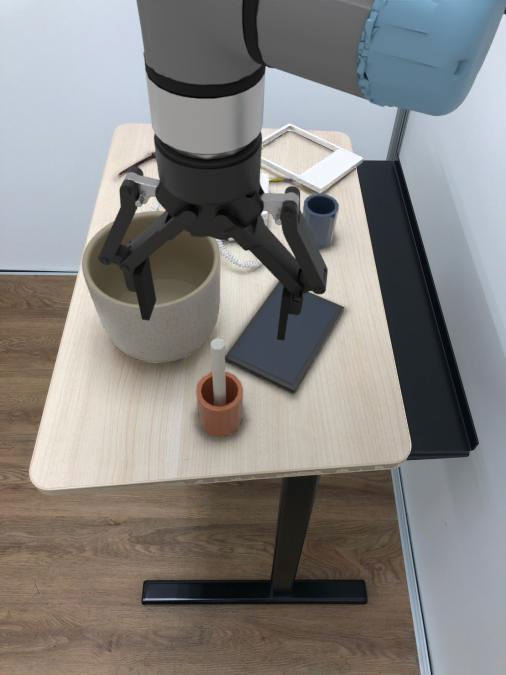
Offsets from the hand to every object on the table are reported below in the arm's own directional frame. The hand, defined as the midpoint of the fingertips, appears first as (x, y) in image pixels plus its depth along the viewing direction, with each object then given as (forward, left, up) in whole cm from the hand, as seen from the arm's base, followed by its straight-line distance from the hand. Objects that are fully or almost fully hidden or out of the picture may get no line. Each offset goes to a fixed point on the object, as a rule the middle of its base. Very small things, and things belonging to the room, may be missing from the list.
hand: (215, 319), depth 54 cm
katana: (+43, -39, -21) cm, 61 cm away
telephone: (+22, -32, -21) cm, 44 cm away
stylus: (0, 0, -20) cm, 20 cm away
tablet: (-1, -17, -21) cm, 27 cm away
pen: (+16, -47, -20) cm, 54 cm away
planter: (+14, -8, -21) cm, 27 cm away
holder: (+4, -37, -21) cm, 43 cm away
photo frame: (+6, -54, -20) cm, 58 cm away
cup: (0, 0, -21) cm, 21 cm away
